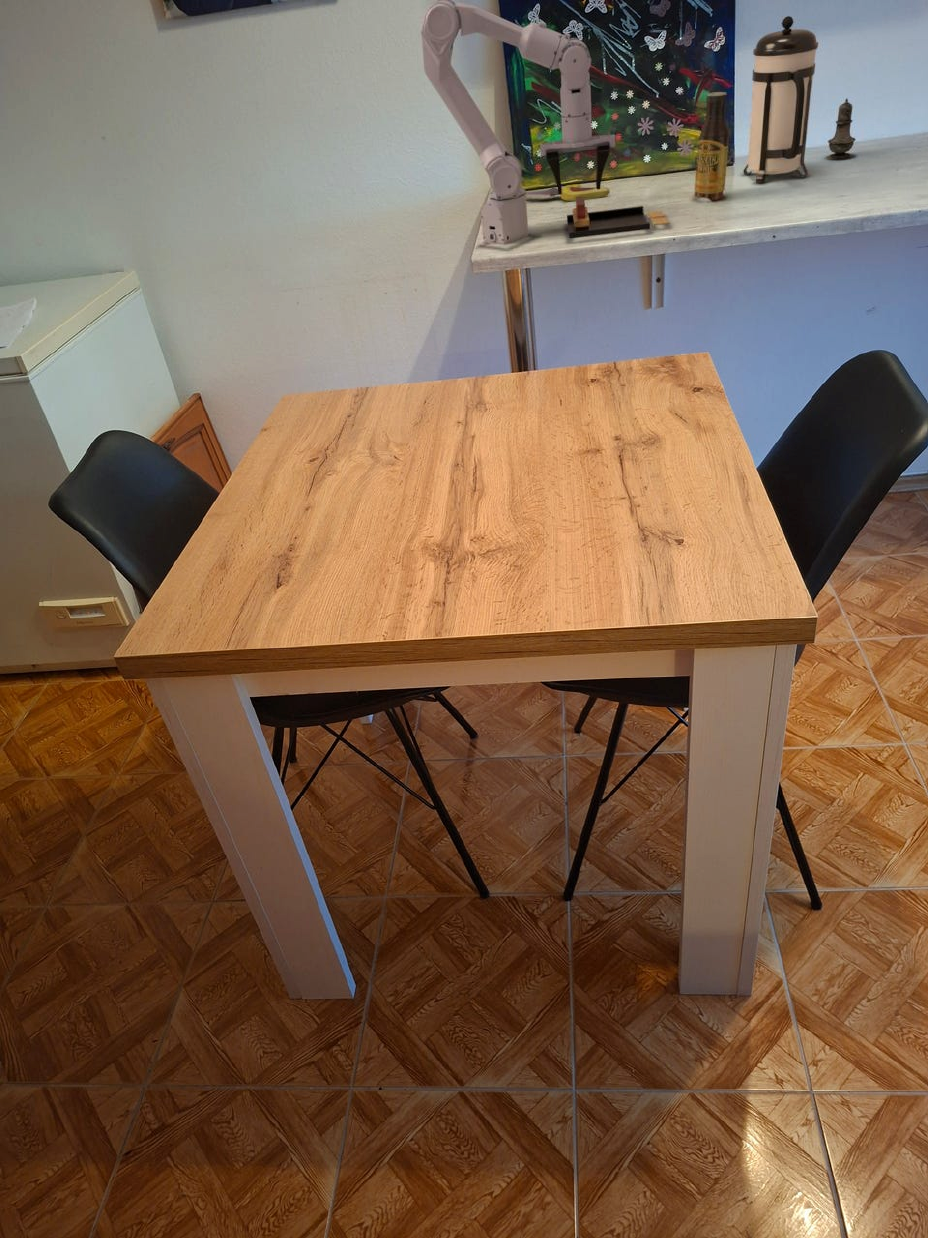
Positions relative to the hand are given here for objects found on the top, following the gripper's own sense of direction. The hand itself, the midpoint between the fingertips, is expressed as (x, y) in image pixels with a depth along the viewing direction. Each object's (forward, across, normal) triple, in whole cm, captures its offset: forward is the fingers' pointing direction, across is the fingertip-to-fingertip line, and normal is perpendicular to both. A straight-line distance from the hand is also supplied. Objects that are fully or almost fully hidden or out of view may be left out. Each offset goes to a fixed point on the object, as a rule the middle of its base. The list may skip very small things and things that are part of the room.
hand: (579, 190), depth 176 cm
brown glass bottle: (+8, +29, +14) cm, 33 cm away
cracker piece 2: (+8, +16, -3) cm, 18 cm away
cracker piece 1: (+8, +16, +3) cm, 18 cm away
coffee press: (+8, +46, +26) cm, 53 cm away
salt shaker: (+8, +62, +37) cm, 73 cm away
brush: (+7, 0, 0) cm, 7 cm away
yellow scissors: (+8, -4, +30) cm, 32 cm away
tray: (+8, +6, 0) cm, 10 cm away
